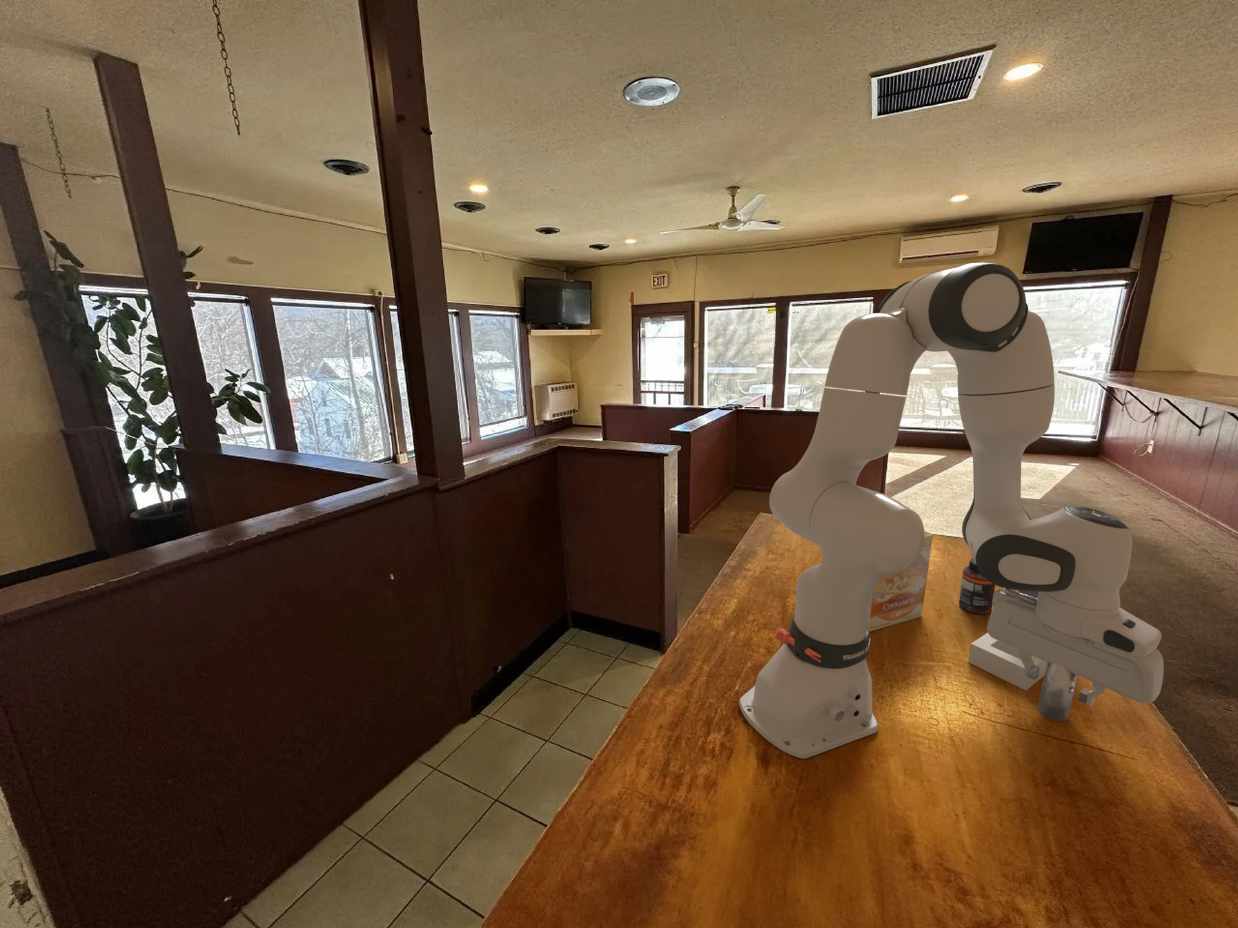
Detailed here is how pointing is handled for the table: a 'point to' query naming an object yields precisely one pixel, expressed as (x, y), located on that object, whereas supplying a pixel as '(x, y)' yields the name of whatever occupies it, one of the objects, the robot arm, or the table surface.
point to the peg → (1056, 692)
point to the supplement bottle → (975, 590)
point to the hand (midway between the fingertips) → (1057, 688)
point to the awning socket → (1004, 658)
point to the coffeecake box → (901, 592)
